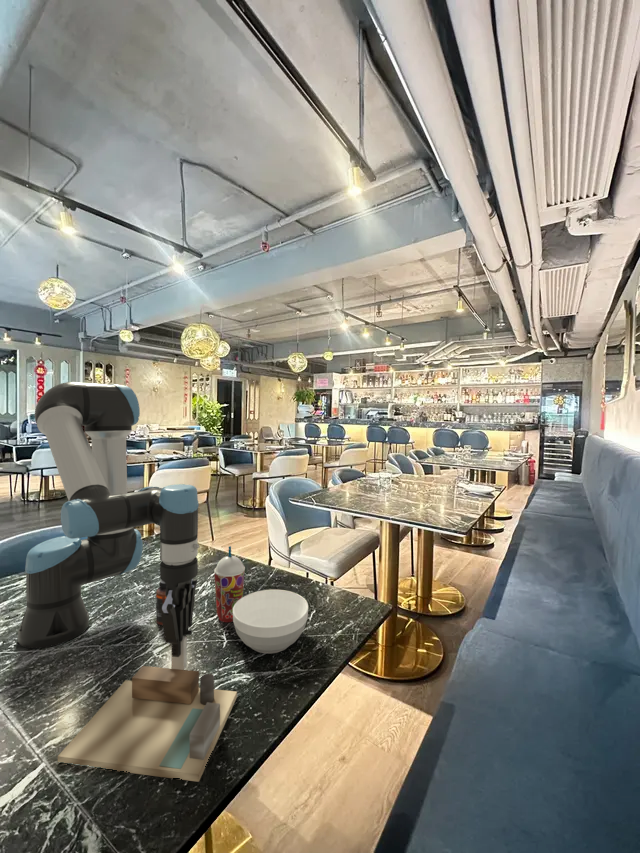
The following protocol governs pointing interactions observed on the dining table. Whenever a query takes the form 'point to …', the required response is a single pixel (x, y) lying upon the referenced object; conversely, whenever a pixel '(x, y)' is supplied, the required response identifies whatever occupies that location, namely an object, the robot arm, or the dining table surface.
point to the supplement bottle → (160, 600)
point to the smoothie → (228, 585)
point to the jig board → (153, 733)
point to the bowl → (270, 619)
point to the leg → (165, 684)
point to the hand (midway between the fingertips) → (179, 667)
